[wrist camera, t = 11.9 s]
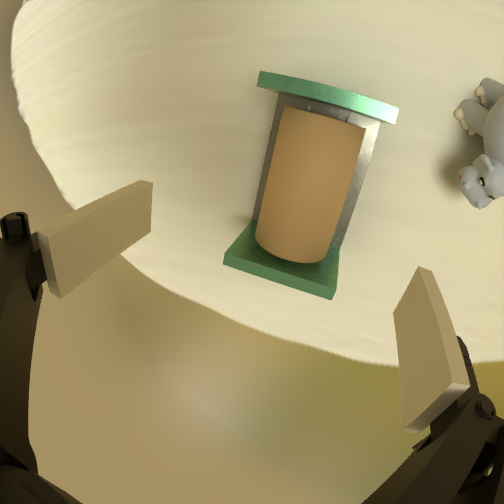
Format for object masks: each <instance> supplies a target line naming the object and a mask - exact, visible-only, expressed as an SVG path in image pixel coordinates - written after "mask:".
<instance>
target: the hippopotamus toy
mask: <svg viewBox="0 0 504 504" xmlns="http://www.w3.org/2000/svg"><path fill="white" fill-rule="evenodd" d="M475 94H476V95H477V96H478V97H481V103H482V105H483V106H484V107H483V106H481V105H480V104H478V103H476V102H474V101H472V100H464V101H463V102H462V103H461V105H460V107H459V108H458V109H456V111H455V113H454V114H455V117H456V118H457V119H459V120H460V121H461V126H462V127H463V128H464V129H465V130H468V132H469V134H470V135H475V134H476V133H478V134H479V135H480V136H482V137H483V139H484V150H485V153H484V154H481V155H480V156H479V157H477V158H476V159H475V161H474V162H473V164H472V166H466V167H464V168H462V169H461V170H460V172H459V174H458V177H457V183H458V186H459V188H460V189H461V191H462V193H463V194H464V195H465V196H466V198H467V199H468V200H469V202H470V203H471V204H472V205H473V206H474V207H476V208H479V209H481V208H484V207H487V206H488V205H489V204H490V203H491V201H492V200H494V199H496V198H499V197H501V196H504V85H502V84H500V83H498V82H496V81H494V80H492V79H490V78H485V79H484V80H483V81H482V82H481V84H480V86H479V87H478V88H477V90H476V91H475ZM486 108H488V109H489V110H488V109H486Z"/></svg>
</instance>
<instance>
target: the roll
mask: <svg viewBox="0 0 504 504" xmlns="http://www.w3.org/2000/svg"><path fill="white" fill-rule="evenodd" d="M365 132H366V129H365V128H363V127H360V126H357V125H354V124H351V123H348V122H345V121H341V119H338V118H334V117H331V116H328V115H324V114H320V113H317V112H313V111H306V110H301V109H297V108H293V107H288V106H284V107H283V112H282V116H281V121H280V125H279V130H278V134H277V139H276V143H275V147H274V152H273V156H272V161H271V165H270V170H269V174H268V179H267V183H266V188H265V192H264V196H263V201H262V205H261V210H260V214H259V219H258V223H257V228H256V232H255V238H256V241H257V242H258V244H259V245H260V246H261V247H262V248H264V249H265V250H266V251H268V252H270V253H271V254H273V255H275V256H278V257H280V258H283V259H286V260H289V261H294V262H300V263H313V262H318V261H320V260H322V259H324V258H325V256H326V254H327V252H328V249H329V246H330V243H331V240H332V237H333V235H334V232H335V229H336V226H337V223H338V220H339V217H340V214H341V211H342V208H343V205H344V202H345V199H346V196H347V193H348V189H349V186H350V183H351V180H352V177H353V173H354V170H355V167H356V163H357V160H358V157H359V153H360V150H361V146H362V143H363V139H364V135H365Z"/></svg>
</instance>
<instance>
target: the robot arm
mask: <svg viewBox="0 0 504 504" xmlns="http://www.w3.org/2000/svg"><path fill="white" fill-rule="evenodd" d="M152 188H153V183H151V182H147V181H143V180H139V181H137V182H135V183H133V184H130V185H128V186H126V187H123V188H121V189H119V190H117V191H115V192H112V193H110V194H108V195H106V196H104V197H102V198H100V199H98V200H95V201H93V202H91V203H89V204H87V205H85V206H83V207H81V208H79V209H77V210H75V211H73V212H71V213H70V214H68V215H66V216H64V217H62V218H60V219H58V220H56V221H54V222H53V223H51V224H49V225H47V226H45V227H44V228H42V229H40V230H38V231H37V232H36V233H33V234H32V235H31V233H30V227H29V221H28V215H27V214H26V213H24V212H14V213H10V214H8V215H6V216H4V217H3V218H1V219H0V227H1V232H2V237H3V238H0V504H82V503H80V502H79V501H78V500H76V499H75V498H73V497H72V496H71V495H69V494H68V493H67V492H65V491H63V490H62V489H60V488H58V487H57V486H55V485H53V484H52V483H50V482H49V481H47V480H45V479H44V478H42V477H41V476H39V475H38V469H37V462H36V458H35V454H34V452H33V449H32V447H31V445H30V442H29V437H28V401H29V381H30V369H31V360H32V351H33V343H34V337H35V330H36V324H37V319H38V313H39V308H40V303H41V299H42V294H43V287H42V283H43V282H45V281H46V280H47V282H48V286H49V290H50V292H51V293H52V294H54V295H55V296H57V297H59V298H60V299H62V298H64V297H65V296H66V295H67V294H68V293H70V292H71V291H72V290H73V289H75V288H76V287H77V286H79V285H80V284H81V283H82V282H83V281H85V280H86V279H87V278H89V277H90V276H91V275H93V274H94V273H95V272H96V271H98V270H99V269H100V268H102V267H103V266H104V265H106V264H107V263H108V262H110V261H111V260H112V259H114V258H115V257H116V256H118V255H119V254H120V253H122V252H123V251H124V250H126V249H127V248H128V247H130V246H131V245H133V244H134V243H135V242H137V241H138V240H139V239H141V238H142V237H144V236H145V235H147V234H148V233H149V232H150V231H151V205H152ZM393 316H394V323H395V331H396V339H397V348H398V358H399V370H400V383H401V384H400V385H401V405H402V431H408V432H416V433H420V432H421V431H422V430H424V429H425V428H426V427H427V426H428V425H430V430H431V434H429V435H428V436H426V437H425V438H424V439H423V440H421V441H420V442H419V443H417V444H416V445H415V446H413V447H412V448H413V449H415V448H416V449H415V450H414V451H413V452H412V454H411V455H410V456H409V457H408V458H407V459H406V460H405V462H404V463H403V464H402V465H401V466H400V467H399V468H398V469H397V470H396V471H395V472H394V473H393V474H392V475H391V476H390V477H389V478H388V479H387V480H386V481H385V482H384V483H383V484H382V485H381V486H380V487H379V488H378V489H377V490H376V491H375V492H374V493H373V494H372V495H370V496H369V497H368V498H367V499H366V500H365V501H364V502H363V503H362V504H504V420H503V419H502V418H499V417H498V416H496V410H495V407H494V405H493V403H492V401H491V400H490V399H489V398H488V397H487V396H485V395H484V394H480V393H479V389H478V385H477V381H476V377H475V374H474V370H473V367H471V366H472V363H471V360H470V359H469V353H468V350H467V347H466V345H465V344H464V342H463V341H462V339H461V338H460V337H459V336H456V334H455V331H454V328H453V325H452V322H451V319H450V316H449V313H448V311H447V308H446V305H445V303H444V300H443V297H442V295H441V292H440V290H439V287H438V285H437V283H436V280H435V278H434V275H433V273H432V271H430V270H427V269H424V268H422V267H419V266H418V268H417V270H416V272H415V274H414V276H413V278H412V279H411V281H410V283H409V285H408V287H407V289H406V291H405V293H404V294H403V296H402V298H401V300H400V301H399V303H398V305H397V307H396V309H395V310H394V312H393ZM492 467H493V469H492V472H491V473H490V475H488V476H487V474H488V470H489V469H490V468H492Z"/></svg>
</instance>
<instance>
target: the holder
mask: <svg viewBox="0 0 504 504" xmlns="http://www.w3.org/2000/svg"><path fill="white" fill-rule="evenodd" d="M257 86H258V87H261V88H264V89H268V90H271V91H274V92H277V93H280V94H279V99H278V103H277V108H276V112H275V117H274V121H273V126H272V130H271V135H270V139H269V144H268V149H267V153H266V158H265V162H264V167H263V172H262V176H261V181H260V185H259V190H258V195H257V199H256V204H255V209H254V213H253V218H252V221H251V222H250V223H249V225H248V226H247V227H246V228H245V229H244V231H243V232H242V233H241V234H240V235H239V237H238V238H237V239H236V240H235V241H234V242H233V244H232V245H231V246H230V247H229V248H228V250H227V251H226V252H225V255H224V261H223V264H224V265H227V266H230V267H233V268H235V269H238V270H241V271H244V272H247V273H250V274H253V275H256V276H259V277H262V278H265V279H268V280H271V281H274V282H277V283H280V284H283V285H286V286H289V287H292V288H295V289H298V290H301V291H304V292H307V293H310V294H313V295H316V296H319V297H322V298H325V299H328V300H332V298H333V296H334V294H335V291H336V288H337V277H338V264H339V251H340V246H341V244H342V241H343V238H344V235H345V233H346V230H347V227H348V224H349V222H350V219H351V216H352V213H353V210H354V207H355V204H356V201H357V198H358V195H359V192H360V189H361V186H362V183H363V180H364V177H365V173H366V170H367V167H368V164H369V160H370V157H371V154H372V150H373V147H374V143H375V140H376V136H377V133H378V129H379V125H380V122H384V123H391V124H395V121H396V118H397V114H398V110H399V108H396V107H393V106H391V105H388V104H385V103H383V102H380V101H377V100H374V99H371V98H368V97H365V96H362V95H359V94H356V93H352V92H349V91H346V90H342V89H339V88H335V87H332V86H328V85H324V84H320V83H316V82H312V81H308V80H304V79H299V78H295V77H290V76H285V75H280V74H274V73H269V72H263V71H260V74H259V78H258V83H257ZM284 106H288V107H293V108H297V109H301V110H306V111H313V112H317V113H320V114H324V115H328V116H331V117H334V118H338V119H341V121H345V122H348V123H351V124H354V125H357V126H360V127H363V128H365V129H366V132H365V135H364V139H363V143H362V146H361V150H360V153H359V157H358V160H357V163H356V167H355V170H354V173H353V177H352V180H351V183H350V186H349V189H348V193H347V196H346V199H345V202H344V205H343V208H342V211H341V214H340V217H339V220H338V223H337V226H336V229H335V232H334V235H333V237H332V240H331V243H330V246H329V249H328V252H327V254H326V256H325V258H324V259H322V260H320V261H318V262H313V263H300V262H294V261H289V260H286V259H283V258H280V257H278V256H275V255H273V254H271V253H270V252H268V251H266V250H265V249H264V248H262V247H261V246H260V245H259V244H258V242H257V241H256V238H255V232H256V228H257V223H258V219H259V214H260V210H261V205H262V201H263V196H264V192H265V188H266V183H267V179H268V174H269V170H270V165H271V161H272V156H273V152H274V147H275V143H276V139H277V134H278V130H279V125H280V121H281V116H282V112H283V107H284Z"/></svg>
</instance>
